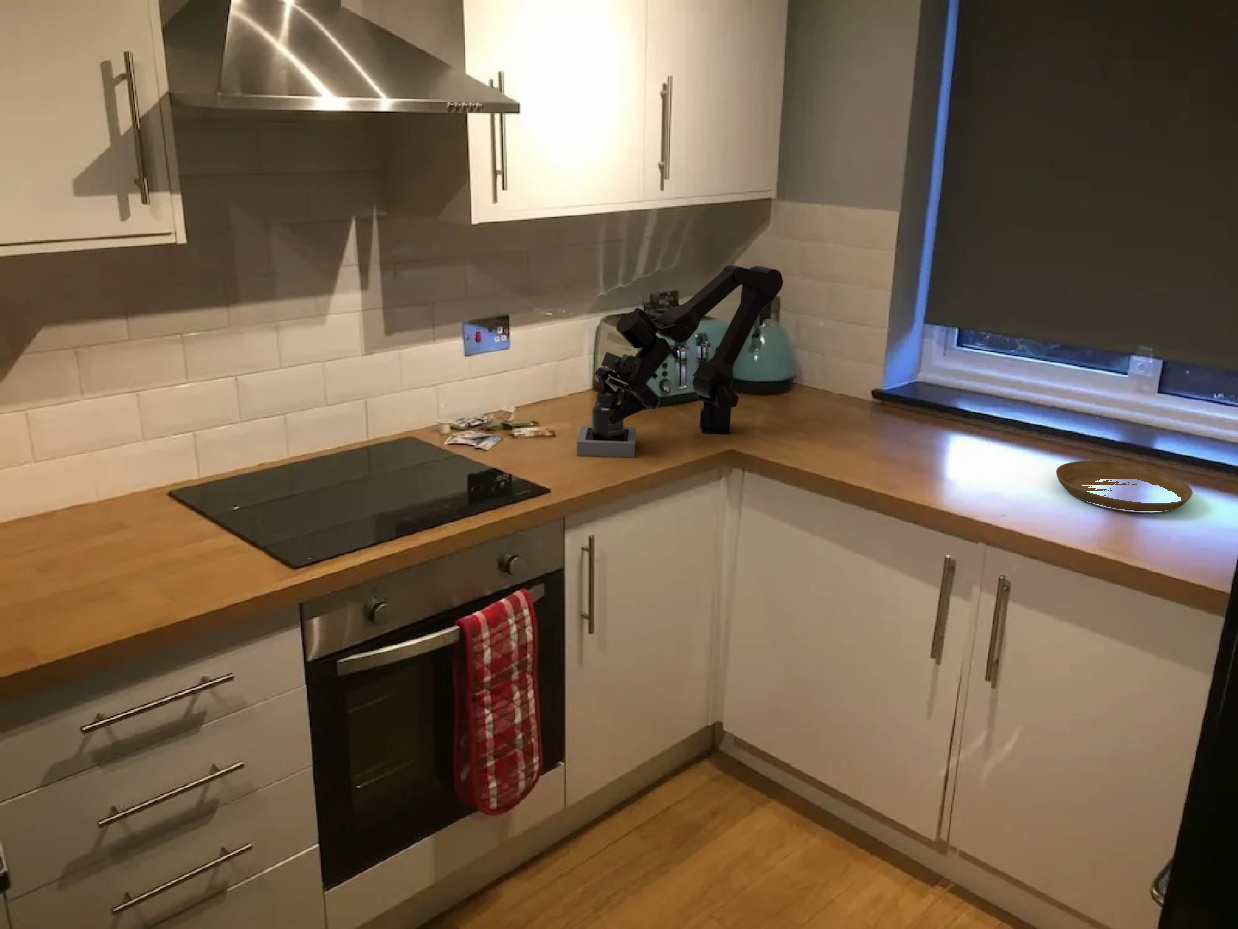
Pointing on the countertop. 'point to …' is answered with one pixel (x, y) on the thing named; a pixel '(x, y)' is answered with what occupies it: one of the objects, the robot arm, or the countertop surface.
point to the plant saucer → (1092, 471)
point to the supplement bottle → (606, 418)
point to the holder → (606, 444)
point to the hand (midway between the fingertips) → (602, 418)
